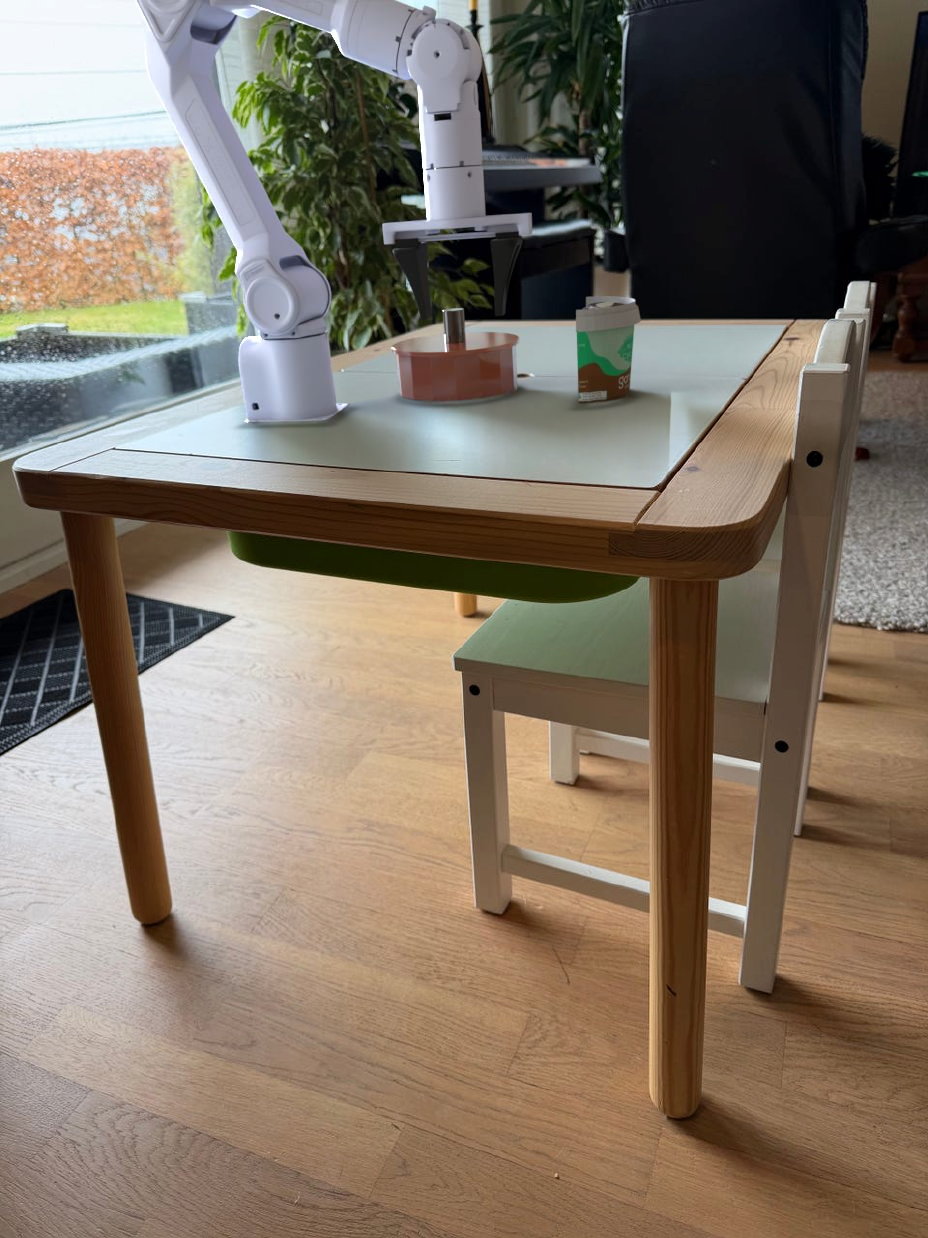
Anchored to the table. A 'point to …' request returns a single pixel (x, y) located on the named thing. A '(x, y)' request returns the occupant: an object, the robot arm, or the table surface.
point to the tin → (457, 376)
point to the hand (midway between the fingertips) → (462, 316)
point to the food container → (605, 347)
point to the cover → (455, 340)
